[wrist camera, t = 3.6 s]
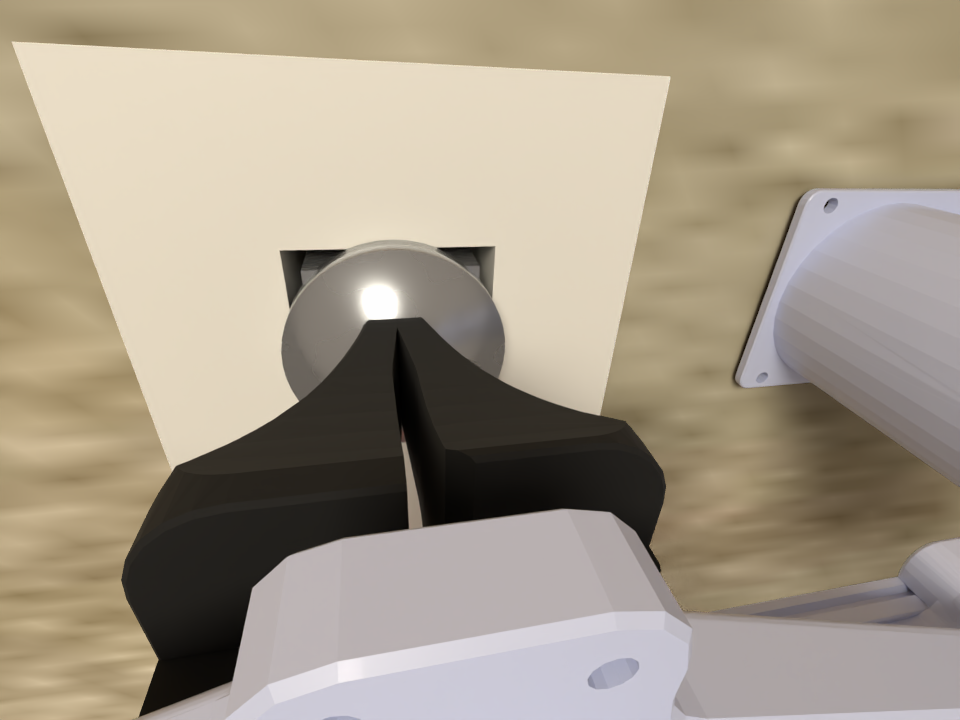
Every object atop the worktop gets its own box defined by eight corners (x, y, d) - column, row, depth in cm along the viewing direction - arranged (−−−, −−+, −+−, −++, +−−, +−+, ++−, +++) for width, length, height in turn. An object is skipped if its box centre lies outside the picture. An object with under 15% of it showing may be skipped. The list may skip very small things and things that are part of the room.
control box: (595, 74, 14) (670, 76, 10) (521, 597, 26) (545, 677, 22) (116, 49, 11) (11, 41, 8) (283, 637, 24) (269, 732, 20)
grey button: (473, 200, 15) (513, 248, 11) (468, 351, 17) (498, 433, 13) (290, 200, 14) (261, 253, 10) (315, 360, 16) (299, 452, 12)
